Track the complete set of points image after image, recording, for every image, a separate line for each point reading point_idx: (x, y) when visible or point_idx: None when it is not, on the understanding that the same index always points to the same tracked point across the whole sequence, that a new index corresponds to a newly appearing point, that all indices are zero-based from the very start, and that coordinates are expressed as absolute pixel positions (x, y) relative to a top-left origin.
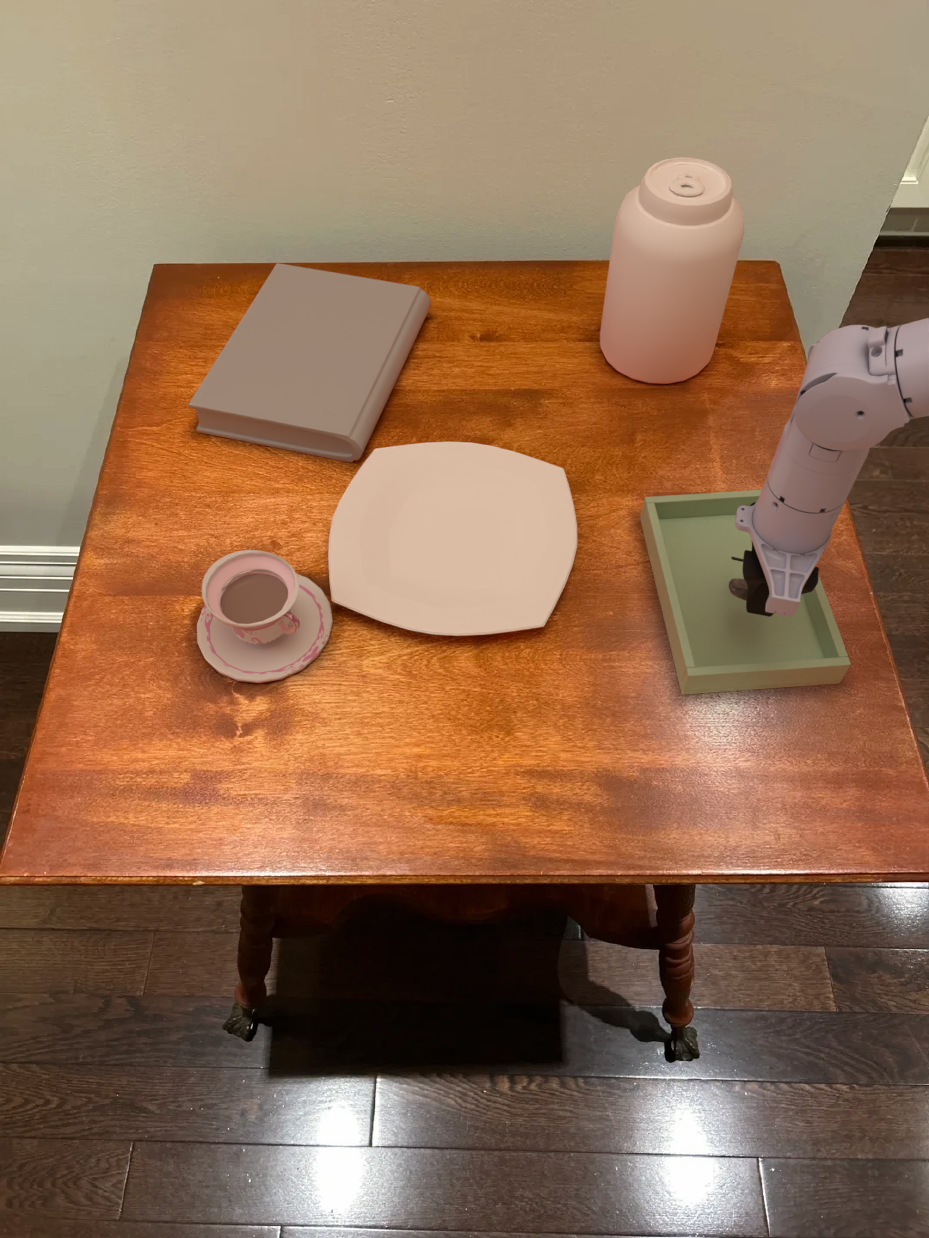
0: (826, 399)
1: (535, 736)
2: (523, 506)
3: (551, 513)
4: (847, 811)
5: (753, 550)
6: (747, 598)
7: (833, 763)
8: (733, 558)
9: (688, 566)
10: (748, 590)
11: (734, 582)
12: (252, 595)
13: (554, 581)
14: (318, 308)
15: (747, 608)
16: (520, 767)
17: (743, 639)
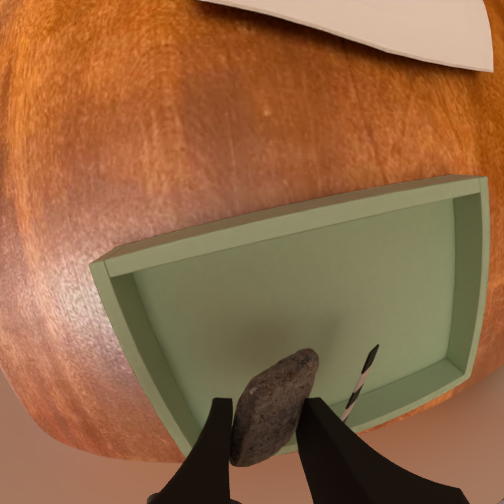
0: None
1: (43, 58)
2: (428, 8)
3: (430, 30)
4: (55, 409)
5: (343, 463)
6: (201, 433)
7: (93, 412)
8: (370, 355)
9: (378, 251)
10: (180, 469)
11: (279, 389)
12: None
13: (298, 7)
14: None
15: (211, 406)
16: (14, 60)
17: (234, 344)
